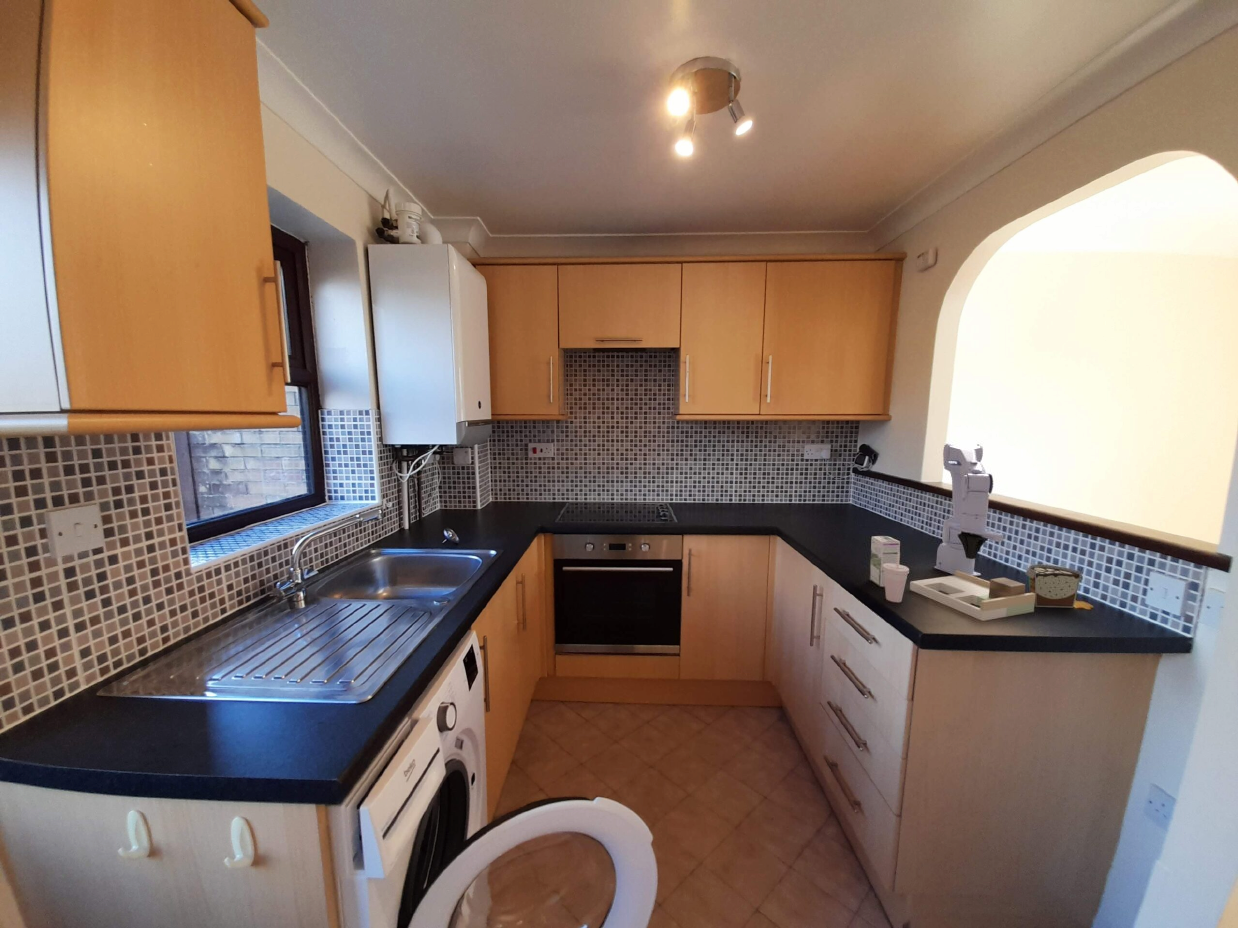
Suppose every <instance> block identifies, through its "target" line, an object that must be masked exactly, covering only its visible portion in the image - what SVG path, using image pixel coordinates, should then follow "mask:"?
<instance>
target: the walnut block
mask: <svg viewBox="0 0 1238 928" xmlns="http://www.w3.org/2000/svg"><path fill="white" fill-rule="evenodd" d="M989 582H990V587H989V597H990V598H993V599H995V598H1001V597H1007V596H1014V595H1020V594H1026V584H1025V583H1022V582H1020V581H1016V580H1014V579H1009V578H1007V577H997V578H992V579H990V580H989Z"/></svg>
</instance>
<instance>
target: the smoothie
mask: <svg viewBox="0 0 1238 928" xmlns="http://www.w3.org/2000/svg"><path fill="white" fill-rule="evenodd" d="M900 557H901V552H898V553H897V564H894V563H886V564H883V567H882V569H883V570H884V581H885V587H884V590H885V599H886V600H887V601H889V602H892V603H901V602H903V601H902V600H903V595H904V592H905V586H906V583H907V579H908V574H909V573H910V568H909V567H908V566H906V565H903V564H900Z"/></svg>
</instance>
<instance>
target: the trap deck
mask: <svg viewBox="0 0 1238 928" xmlns="http://www.w3.org/2000/svg"><path fill="white" fill-rule="evenodd" d="M989 587H990V580H985V579H983V578H980V577H978V576H971V575H969V574H966V573H963V572H960V571H955V575H948V576H940V577H933V578H932V577H931V578H927V579H920V580H913V581H910V583H909V590H910V591H912V592H914V593H916V594H919V595H922V596H924V597H927V598H929V599H931V600H933V601H936V602H938V603H941V604H942V605H944V606H947V607H949V608H952V609H955V610H956V611H958V612H961V613H964V614H966V615H968V616H971V617H972V618H975V619H977V620H979V621H982V622H984V621H990V620H994V619H996V620H997V619H1001V618H1002V619H1003V618H1006V617H1007V618H1008V617H1012V616H1017V615H1023V614H1028V613H1034V612H1035V606H1034V604H1035V593H1029V592H1027V593H1026V592H1025V594H1020V595H1014V596H1007V597H1001V598H995V599H993V598H990V597H989ZM940 591H941V592H940ZM946 593H947V594H946ZM972 604H974V605H975V606H974V605H972ZM977 606H978V607H977Z"/></svg>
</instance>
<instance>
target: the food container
mask: <svg viewBox="0 0 1238 928" xmlns="http://www.w3.org/2000/svg"><path fill="white" fill-rule="evenodd" d="M1025 575H1026V576H1028V590H1029V591H1028V593H1035V604H1034V608H1037V607H1038V608H1039V607H1040V608H1042V607H1043V608H1068V609H1069V608H1071V609H1072V608H1074V607H1075V603H1076V600H1077V599H1076V598H1077V594H1078V590H1079V585H1080V581H1083V580H1084V578H1083V574H1082V571H1079V570H1076V569H1072V568H1069V567H1063V566H1058V565H1050V564H1041V563H1040V564H1030V565H1029V566H1028V567H1027V569H1026V570H1025Z"/></svg>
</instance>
